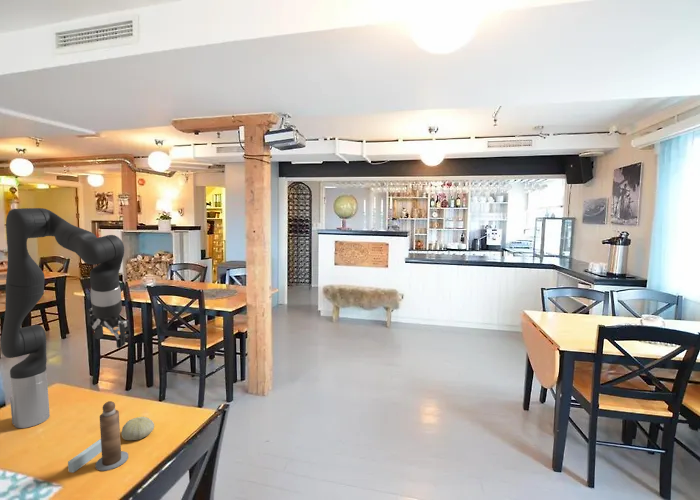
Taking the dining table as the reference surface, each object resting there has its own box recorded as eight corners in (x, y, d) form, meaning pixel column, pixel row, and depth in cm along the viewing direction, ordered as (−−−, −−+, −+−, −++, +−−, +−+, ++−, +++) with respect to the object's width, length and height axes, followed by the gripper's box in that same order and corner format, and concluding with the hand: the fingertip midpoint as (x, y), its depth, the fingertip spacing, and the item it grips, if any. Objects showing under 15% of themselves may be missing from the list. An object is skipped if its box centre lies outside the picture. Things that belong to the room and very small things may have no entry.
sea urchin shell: (141, 439, 112) (125, 419, 113) (127, 453, 114) (111, 434, 114) (162, 422, 121) (147, 404, 122) (149, 436, 123) (133, 418, 123)
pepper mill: (98, 464, 103) (94, 405, 101) (111, 454, 107) (108, 397, 105) (112, 466, 102) (108, 406, 100) (125, 455, 106) (122, 398, 105)
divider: (68, 471, 100) (68, 461, 100) (104, 445, 112) (104, 436, 112) (73, 472, 100) (72, 462, 100) (109, 445, 112) (108, 436, 111)
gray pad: (88, 468, 101) (88, 467, 101) (111, 450, 109) (111, 449, 109) (113, 472, 100) (113, 471, 100) (134, 453, 108) (134, 452, 108)
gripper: (135, 300, 110) (137, 343, 116) (99, 286, 113) (103, 328, 119) (114, 312, 103) (117, 356, 110) (75, 296, 106) (81, 340, 113)
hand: (109, 341), depth 115 cm, fingers open, 8 cm apart
